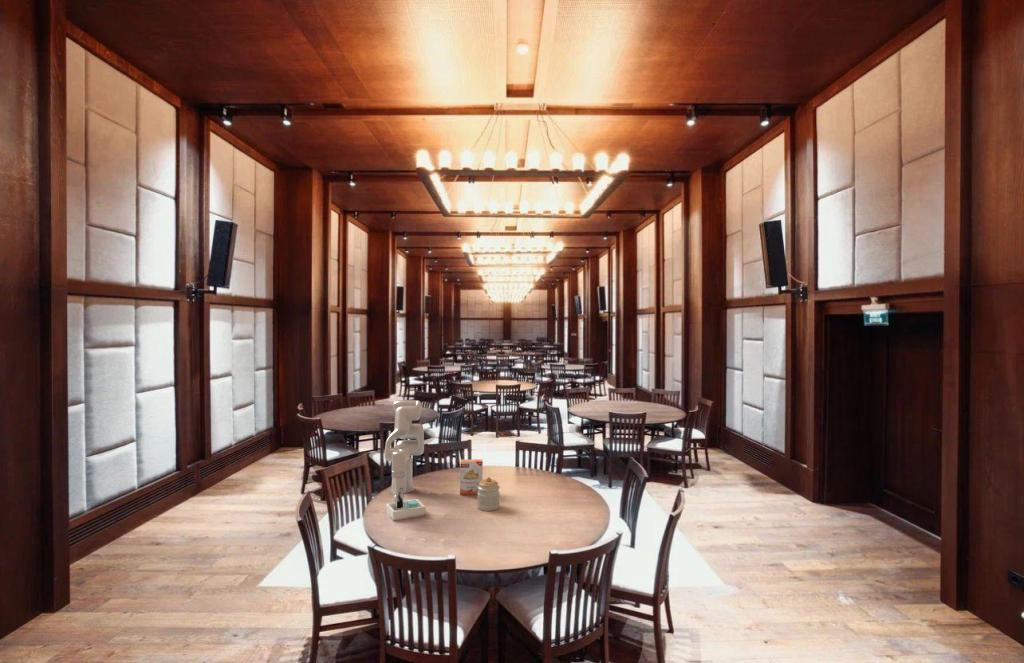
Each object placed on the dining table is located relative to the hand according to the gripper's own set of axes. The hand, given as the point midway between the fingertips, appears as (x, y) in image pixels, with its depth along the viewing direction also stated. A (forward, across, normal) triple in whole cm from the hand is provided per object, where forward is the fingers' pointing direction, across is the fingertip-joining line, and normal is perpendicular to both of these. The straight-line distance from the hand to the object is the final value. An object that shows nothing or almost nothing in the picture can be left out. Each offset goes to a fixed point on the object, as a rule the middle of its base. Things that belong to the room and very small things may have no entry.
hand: (398, 505), depth 295 cm
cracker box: (+5, -16, +51) cm, 54 cm away
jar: (+6, +11, +50) cm, 51 cm away
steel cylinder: (+1, 0, 0) cm, 1 cm away
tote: (+5, 0, +4) cm, 7 cm away
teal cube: (+4, 0, +8) cm, 9 cm away
